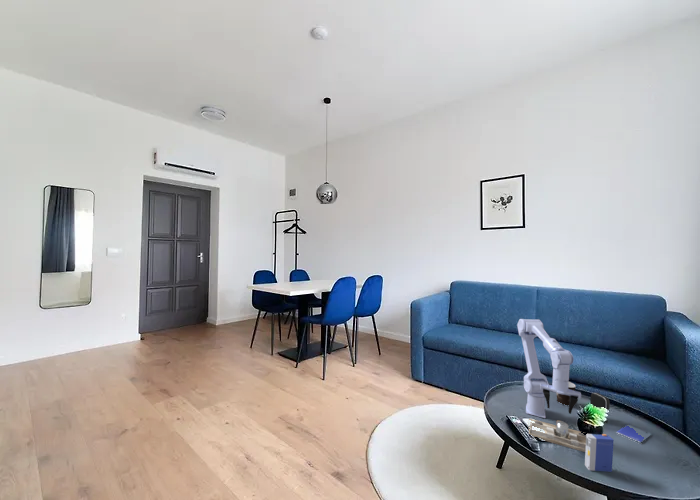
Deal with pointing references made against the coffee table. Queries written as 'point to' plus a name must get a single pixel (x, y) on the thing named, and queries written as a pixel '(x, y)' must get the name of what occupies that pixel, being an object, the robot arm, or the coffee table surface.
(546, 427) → the board
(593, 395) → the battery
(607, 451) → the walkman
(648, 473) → the coffee table surface
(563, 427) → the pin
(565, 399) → the coffee mug
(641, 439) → the blue spiral notebook
